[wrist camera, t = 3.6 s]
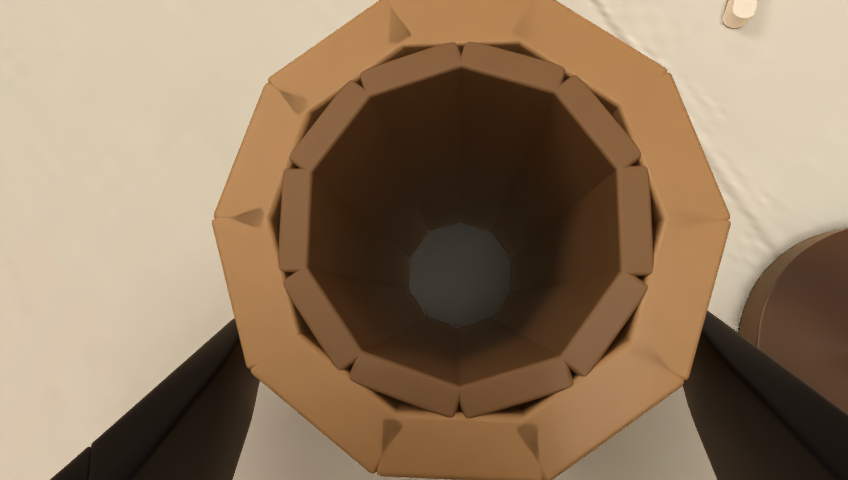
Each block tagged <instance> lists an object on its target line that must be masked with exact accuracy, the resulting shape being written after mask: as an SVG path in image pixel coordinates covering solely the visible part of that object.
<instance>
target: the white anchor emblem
mask: <svg viewBox="0 0 848 480" xmlns="http://www.w3.org/2000/svg"><path fill="white" fill-rule="evenodd" d="M757 2H758V0H729V1H728V4H727V7H726V10H725V13H724V16H723V22H724V24H725V25H726V26H728V27H731V28H738V27H741V26H743V25H744V24H745V23H746V22H747V21H748V20H749V19H751V18H752V17H753V15H754V12H755V9H756V5H757Z"/></svg>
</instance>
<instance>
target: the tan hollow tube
mask: <svg viewBox="0 0 848 480" xmlns="http://www.w3.org/2000/svg"><path fill="white" fill-rule="evenodd" d="M268 82H269V83H266V84H265V86H264V88H263V90H262V93H261V95H260V98H259V100H258V103H257V105H256V108H255V111H254V113H253V116H252V118H251V121H250V123H249V126H248V128H247V131H246V134H245V136H244V139H243V141H242V144H241V146H240V149H239V151H238V154H237V156H236V159H235V162H234V164H233V167H232V169H231V172H230V174H229V177H228V179H227V182H226V185H225V187H224V190H223V192H222V195H221V197H220V200H219V202H218V205H217V207H216V210H215V213H214V218H215V219H214V220H213V221H212V225H213V230H214V234H215V238H216V242H217V246H218V250H219V254H220V259H221V263H222V267H223V271H224V275H225V279H226V283H227V288H228V292H229V296H230V300H231V304H232V308H233V312H234V316H235V321H236V325H237V329H238V333H239V337H240V341H241V345H242V350H243V354H244V358H245V362H246V366H247V368H248V369H251V373H252V374H253V375H254V376H255V377H256V378H258V379H259V380H260V381H261V382H262V383H264V384H265V385H266V386H267V387H268V388H270V389H271V390H272V391H273V392H274V393H275V394H277V395H278V396H279V397H280V398H281V399H283V400H284V401H285V402H286V403H287V404H289V405H290V406H291V407H292V408H293V409H295V410H296V411H297V412H298V413H299V414H301V415H302V416H303V417H304V418H305V419H306V420H308V421H309V422H310V423H311V424H312V425H314V426H315V427H316V428H317V429H318V430H320V431H321V432H322V433H323V434H324V435H326V436H327V437H328V438H329V439H330V440H331V441H333V442H334V443H335V444H336V445H337V446H339V447H340V448H341V449H342V450H343V451H345V452H346V453H347V454H348V455H349V456H351V457H352V458H353V459H354V460H355V461H357V462H358V463H359V464H360V465H361V466H362V467H364V468H365V469H366V470H367V471H368V472H370V473H373V474H374V473H375V472H377V474H378V475H380V476H386V477H408V478H431V479H453V480H553V479H554V478H556V477H557V476H558V475H560V474H561V473H563V472H564V471H565V470H567V469H568V468H569V467H571V466H572V465H574V464H575V463H576V462H578V461H579V460H581V459H582V458H583V457H585V456H586V455H587V454H589V453H590V452H592V451H593V450H594V449H596V448H597V447H599V446H600V445H601V444H603V443H604V442H605V441H607V440H608V439H610V438H611V437H612V436H614V435H615V434H616V433H618V432H619V431H621V430H622V429H623V428H625V427H626V426H628V425H629V424H630V423H632V422H633V421H634V420H636V419H637V418H639V417H640V416H641V415H643V414H644V413H646V412H647V411H648V410H650V409H651V408H652V407H654V406H655V405H657V404H658V403H659V402H661V401H662V400H664V399H665V398H666V397H668V396H669V395H670V394H672V393H673V392H675V391H676V390H677V389H679V388H680V387H682V386H683V384H684V380H687V379H688V378H689V375H690V371H691V368H692V364H693V360H694V357H695V353H696V349H697V346H698V342H699V338H700V335H701V331H702V327H703V324H704V320H705V316H706V313H707V309H708V305H709V302H710V298H711V294H712V291H713V287H714V283H715V280H716V276H717V272H718V269H719V265H720V261H721V258H722V254H723V250H724V247H725V243H726V239H727V236H728V232H729V228H730V225H731V224H730V221H729V219H730V214H729V211H728V209H727V207H726V204H725V202H724V199H723V197H722V195H721V192H720V190H719V188H718V185H717V183H716V180H715V178H714V176H713V173H712V171H711V168H710V166H709V164H708V161H707V159H706V156H705V154H704V152H703V149H702V147H701V144H700V142H699V140H698V137H697V135H696V132H695V130H694V128H693V125H692V123H691V121H690V118H689V116H688V113H687V111H686V109H685V106H684V104H683V101H682V99H681V97H680V94H679V92H678V89H677V87H676V85H675V82H674V80H673V77H672V75H671V74H670V73H667V69H666V68H665V67H663V66H661V65H660V64H658V63H656V62H655V61H653V60H652V59H650V58H648V57H647V56H645V55H643V54H642V53H640V52H639V51H637V50H635V49H634V48H632V47H630V46H629V45H627V44H626V43H624V42H622V41H621V40H619V39H617V38H616V37H614V36H613V35H611V34H609V33H608V32H606V31H604V30H603V29H601V28H600V27H598V26H596V25H595V24H593V23H591V22H590V21H588V20H587V19H585V18H583V17H582V16H580V15H578V14H577V13H575V12H574V11H572V10H570V9H569V8H567V7H565V6H564V5H562V4H560V3H559V2H557V1H556V0H379V1H378V2H376V3H375V4H374V5H372V6H371V7H369V8H368V9H366V10H365V11H364V12H362V13H361V14H359V15H358V16H356V17H355V18H354V19H352V20H351V21H349V22H348V23H346V24H345V25H344V26H342V27H341V28H339V29H338V30H336V31H335V32H334V33H332V34H331V35H329V36H328V37H326V38H325V39H324V40H322V41H321V42H319V43H318V44H316V45H315V46H314V47H312V48H311V49H309V50H308V51H306V52H305V53H304V54H302V55H301V56H299V57H298V58H296V59H295V60H294V61H292V62H291V63H289V64H288V65H286V66H285V67H284V68H282V69H281V70H279V71H278V72H276V73H275V74H274V75H272V76H271V77H270V78H269V79H268ZM460 221H461V222H464V223H467V224H470V225H473V226H476V227H479V228H483V229H486V230H489V231H492V233H493V234H494V235H495V237H496V238H497V239H498V241H499V242H500V244H501V245H502V246H503V248H504V249H505V250H506V252H507V253H508V254H509V256H510V257H511V276H512V292H511V293H510V294H509V296H508V297H507V299H506V300H505V301H504V303H503V304H502V305H501V307H500V308H499V310H498V311H497V312H496V314H495V315H494V316H493V318H492V319H489V320H486V321H483V322H480V323H476V324H473V325H470V326H467V327H463V328H460V329H459V328H456V327H454V326H451V325H448V324H445V323H442V322H439V321H436V320H434V319H431V318H428V317H427V315H426V314H425V313H424V311H423V310H422V308H421V307H420V305H419V304H418V303H417V301H416V300H415V298H414V297H413V295H412V294H411V292H410V291H409V259H410V256H411V255H412V253H413V252H414V251H415V249H416V248H417V247H418V245H419V244H420V243H421V241H422V240H423V239H424V237H425V236H426V235H427V233H428V232H429V231H431V230H434V229H438V228H441V227H444V226H447V225H450V224H453V223H456V222H460Z"/></svg>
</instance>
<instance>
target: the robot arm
mask: <svg viewBox="0 0 848 480" xmlns="http://www.w3.org/2000/svg"><path fill="white" fill-rule="evenodd" d="M259 382H260V380H259V379H258V378H256V377H255V376H254V375H253V374H252V373H251V369H248V368H247V366H246V362H245V358H244V354H243V350H242V345H241V341H240V337H239V333H238V329H237V325H236V321H235V318H234V319H233V320H231V321H230V322H229V323H228V324H227V325H226V326H224V327H223V328H222V329H221V330H220V331H219V332H218V333H217V334H215V335H214V336H213V337H212V338H211V339H210V340H209V341H207V342H206V343H205V344H204V345H203V346H202V347H201V348H200V349H198V350H197V351H196V352H195V353H194V354H193V355H192V356H190V357H189V358H188V359H187V360H186V361H185V362H184V363H183V364H181V365H180V366H179V367H178V368H177V369H176V370H175V371H173V372H172V373H171V374H170V375H169V376H168V377H167V378H166V379H164V380H163V381H162V382H161V383H160V384H159V385H158V386H156V387H155V388H154V389H153V390H152V391H151V392H150V393H149V394H147V395H146V396H145V397H144V398H143V399H142V400H141V401H139V402H138V403H137V404H136V405H135V406H134V407H133V408H132V409H130V410H129V411H128V412H127V413H126V414H125V415H124V416H122V417H121V418H120V419H119V420H118V421H117V422H116V423H115V424H113V425H112V426H111V427H110V428H109V429H108V430H107V431H105V432H104V433H103V434H102V435H101V436H100V437H99V438H98V439H96V440H95V441H94V442H93V443H92V445H91V447H87V448H86V449H85V450H84V451H83V452H82V453H80V454H79V455H78V456H77V457H76V458H75V459H74V460H72V461H71V462H70V463H69V464H68V465H67V466H65V467H64V468H63V469H62V470H61V471H60V472H58V473H57V474H56V475H55V476H54V477H53V478H51V479H50V480H232V479H233V476H234V473H235V470H236V467H237V464H238V460H239V457H240V454H241V451H242V448H243V445H244V442H245V438H246V435H247V432H248V429H249V426H250V422H251V419H252V415H253V411H254V407H255V402H256V397H257V392H258V387H259ZM683 389H684V392H685V396H686V399H687V403H688V406H689V409H690V412H691V415H692V418H693V421H694V423H695V426H696V428H697V431H698V433H699V436H700V438H701V441H702V443H703V446H704V448H705V450H706V453H707V455H708V458H709V460H710V463H711V465H712V468H713V470H714V472H715V475H716V477H717V480H848V414H847V413H846V412H844V411H843V410H842V409H840V408H839V407H837V406H836V405H835V404H833V403H832V402H831V401H829V400H828V399H827V398H825V397H824V396H823V395H821V394H820V393H819V392H817V391H816V390H814V389H813V388H812V387H810V386H809V385H808V384H806V383H805V382H804V381H802V380H801V379H800V378H798V377H797V376H796V375H794V374H793V373H791V372H790V371H789V370H787V369H786V368H785V367H783V366H782V365H781V364H779V363H778V362H777V361H775V360H774V359H773V358H771V357H770V356H768V355H767V354H766V353H764V352H763V351H762V350H760V349H759V348H758V347H756V346H755V345H754V344H752V343H751V342H750V341H748V340H747V339H746V338H744V337H743V336H741V335H740V334H739V333H737V332H736V331H735V330H733V329H732V328H731V327H729V326H728V325H727V324H725V323H724V322H723V321H721V320H720V319H718V318H717V317H716V316H714V315H713V314H712V313H710V312H709V311H707V313H706V316H705V320H704V324H703V327H702V331H701V335H700V338H699V342H698V346H697V349H696V353H695V357H694V360H693V364H692V368H691V371H690V375H689V378H688V379H687V380H684V384H683Z"/></svg>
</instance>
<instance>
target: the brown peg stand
mask: <svg viewBox="0 0 848 480" xmlns="http://www.w3.org/2000/svg"><path fill="white" fill-rule="evenodd" d="M739 334H740V335H741V336H743V337H744V338H746V339H747V340H748V341H750V342H751V343H752V344H754V345H755V346H756V347H758V348H759V349H760V350H762V351H763V352H764V353H766V354H767V355H768V356H770V357H771V358H773V359H774V360H775V361H777V362H778V363H779V364H781V365H782V366H783V367H785V368H786V369H787V370H789V371H790V372H791V373H793V374H794V375H796V376H797V377H798V378H800V379H801V380H802V381H804V382H805V383H806V384H808V385H809V386H810V387H812V388H813V389H814V390H816V391H817V392H819V393H820V394H821V395H823V396H824V397H825V398H827V399H828V400H829V401H831V402H832V403H833V404H835V405H836V406H837V407H839V408H840V409H842V410H843V411H844V412H846V413H847V414H848V228H845V229H840V230H836V231H831V232H826V233H823V234H820V235H817V236H814V237H812V238H809V239H807V240H805V241H803V242H801V243H799V244H797V245H795V246H794V247H792V248H791V249H789V250H788V251H786V252H785V253H784V254H782V255H781V256H780V257H779V258H778V259H776V260H775V261H774V262H773V263H772V264H771V265H770V266H769V267H768V268H767V270H766V271H765V272H764V273H763V275H762V276H761V277H760V278H759V279H758V281H757V283H756V285H755V286H754V288H753V290H752V291H751V293H750V295H749V298H748V300H747V303H746V305H745V308H744V311H743V315H742V319H741V323H740V330H739Z"/></svg>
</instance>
